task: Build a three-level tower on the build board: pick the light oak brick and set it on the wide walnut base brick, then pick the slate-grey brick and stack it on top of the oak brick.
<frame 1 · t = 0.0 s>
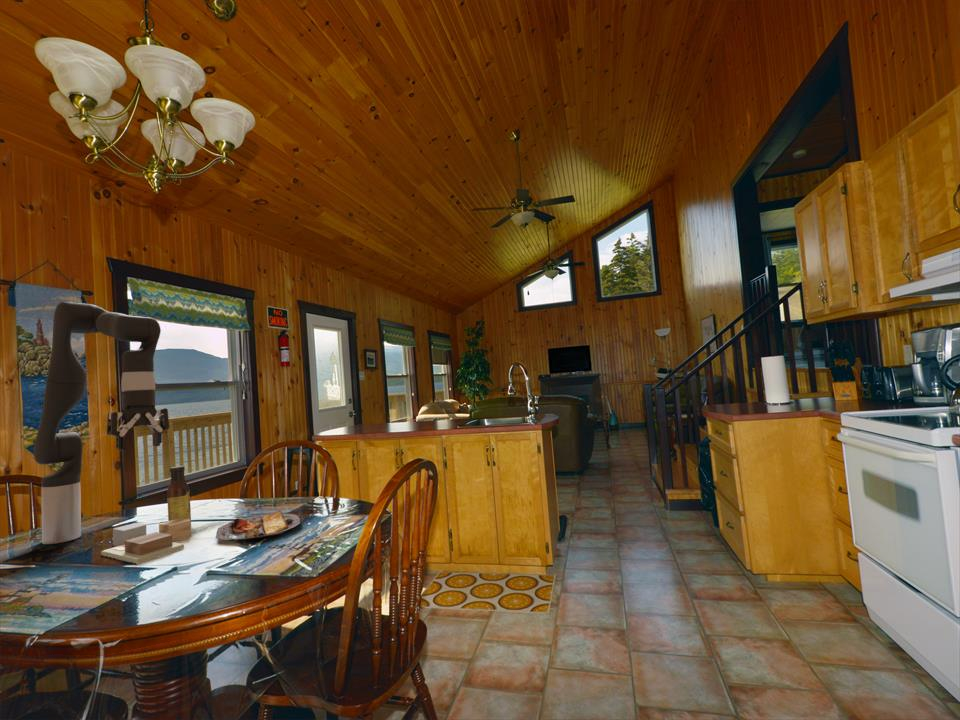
hand: (139, 448, 129), 29 cm above the table, fingers open, 8 cm apart
base brick: (148, 548, 131), point 1 cm above the table, touching build board
food plate: (259, 532, 147), on the table
build board: (143, 551, 132), on the table
oak brick: (175, 538, 144), on the table
grey brick: (129, 543, 141), on the table
sauce bottle: (179, 528, 155), on the table
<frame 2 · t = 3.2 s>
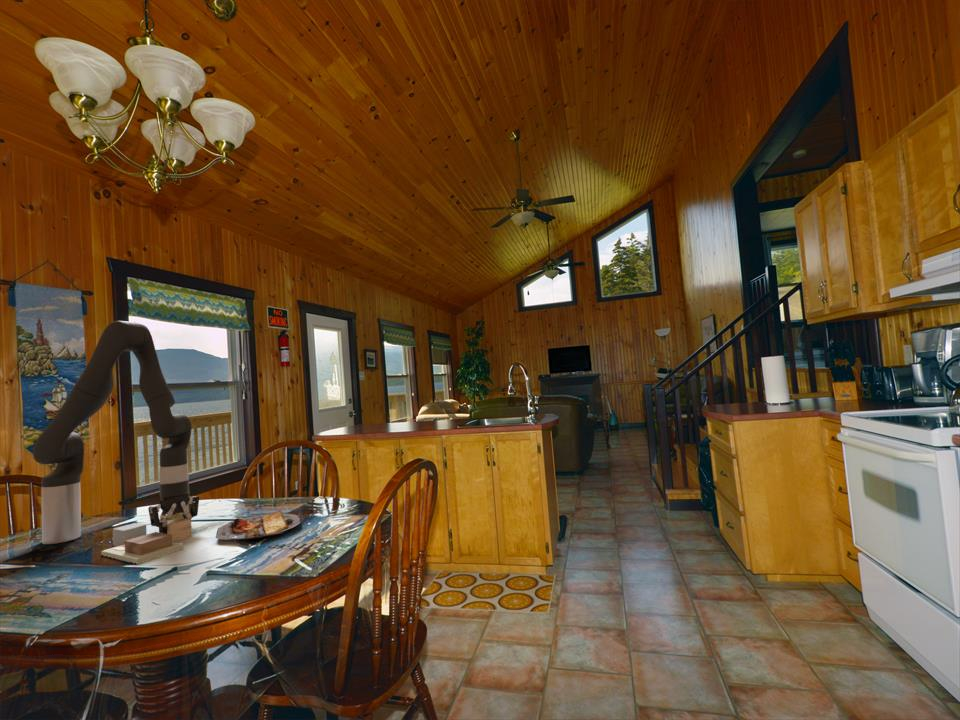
hand: (175, 535, 144), 1 cm above the table, fingers closed on oak brick, 6 cm apart
oak brick: (175, 538, 144), on the table, touching gripper
everything else where it was.
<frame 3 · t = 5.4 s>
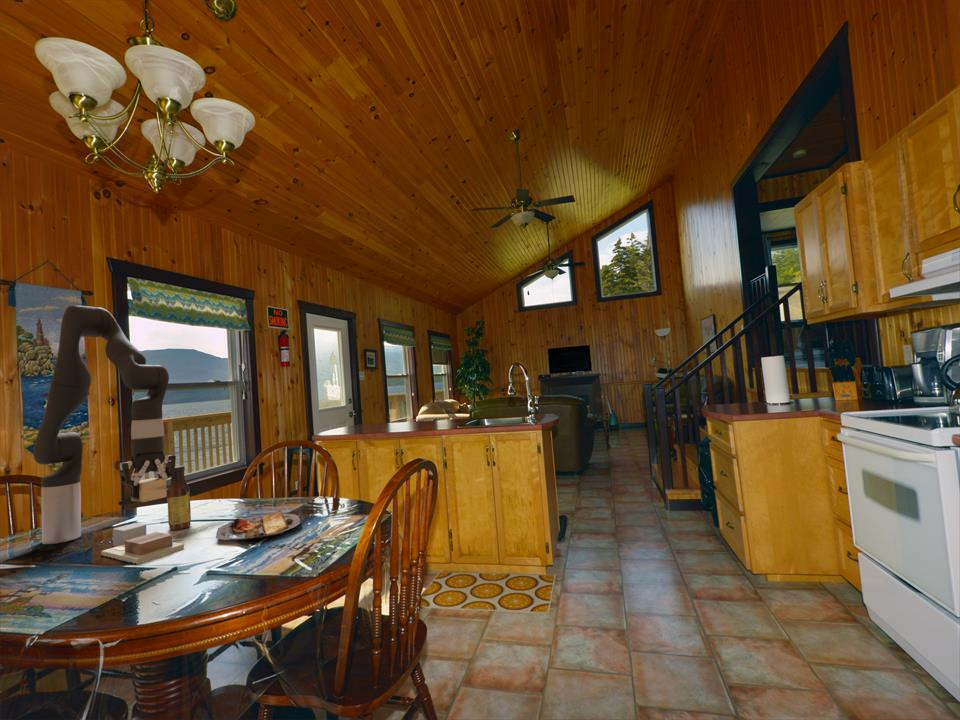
hand: (148, 495, 132), 16 cm above the table, fingers closed on oak brick, 6 cm apart
oak brick: (149, 498, 132), point 15 cm above the table, touching gripper
everything else where it was.
when the fingers open (6 cm above the table, at t = 7.6 s): oak brick drops 1 cm, resting on base brick.
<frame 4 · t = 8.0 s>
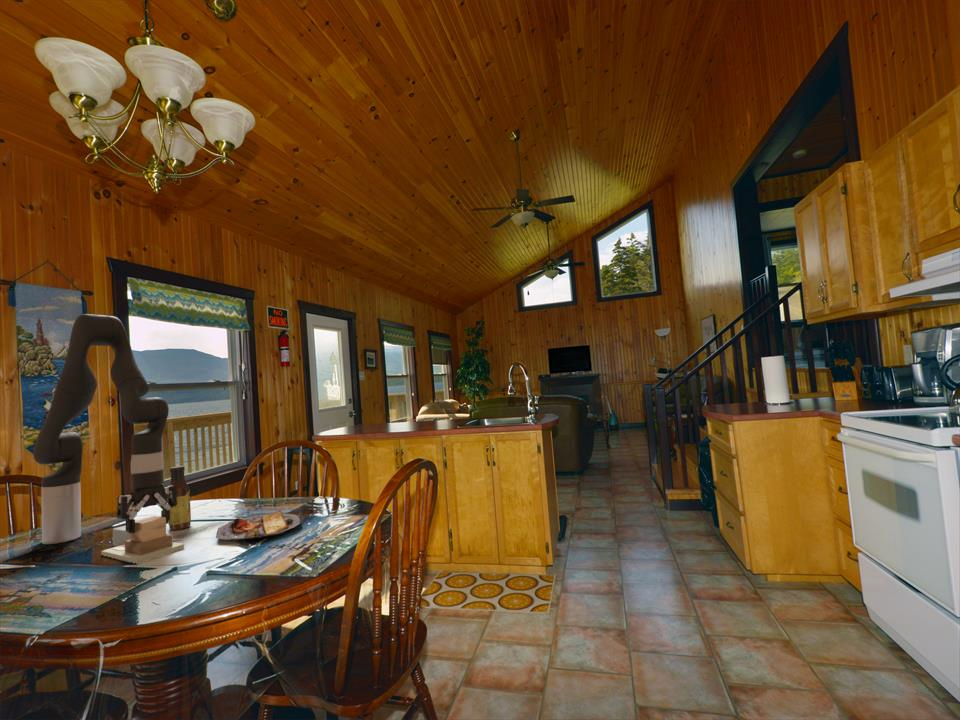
hand: (148, 528, 131), 7 cm above the table, fingers open, 8 cm apart
base brick: (148, 548, 131), point 1 cm above the table, touching build board, oak brick
oak brick: (148, 537, 131), point 4 cm above the table, touching base brick
everything else where it was.
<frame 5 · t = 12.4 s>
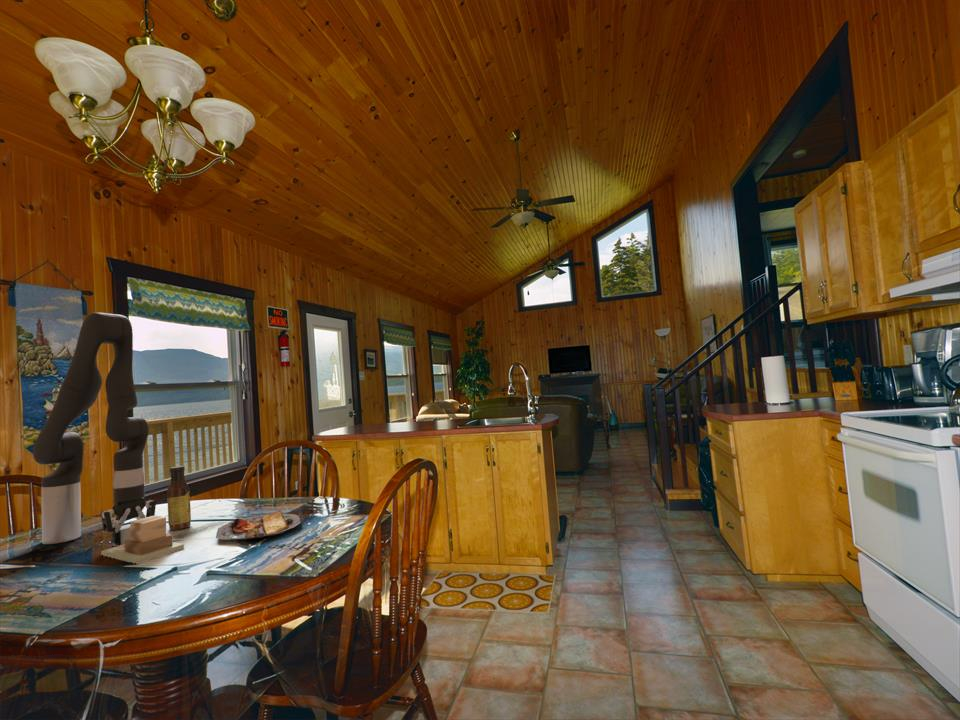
hand: (130, 540, 141), 1 cm above the table, fingers closed on grey brick, 6 cm apart
grey brick: (130, 543, 141), on the table, touching gripper
everything else where it was.
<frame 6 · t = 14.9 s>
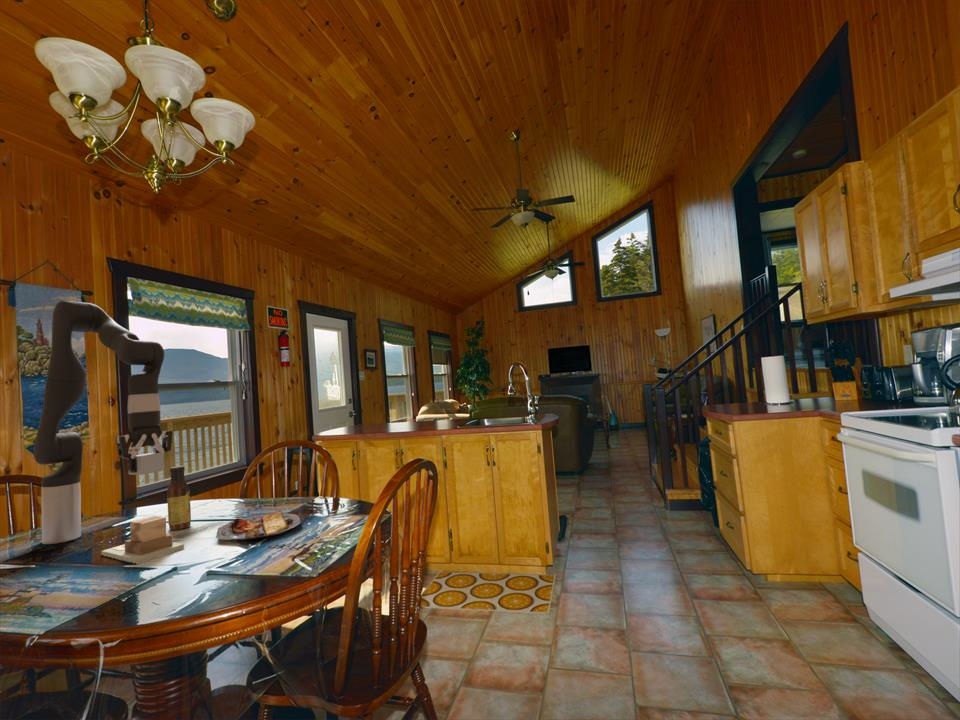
hand: (146, 469, 133), 23 cm above the table, fingers closed on grey brick, 6 cm apart
grey brick: (146, 472, 133), point 22 cm above the table, touching gripper
everything else where it was.
when the fingers open (11 cm above the table, at t = 17.6 s): grey brick drops 1 cm, resting on oak brick.
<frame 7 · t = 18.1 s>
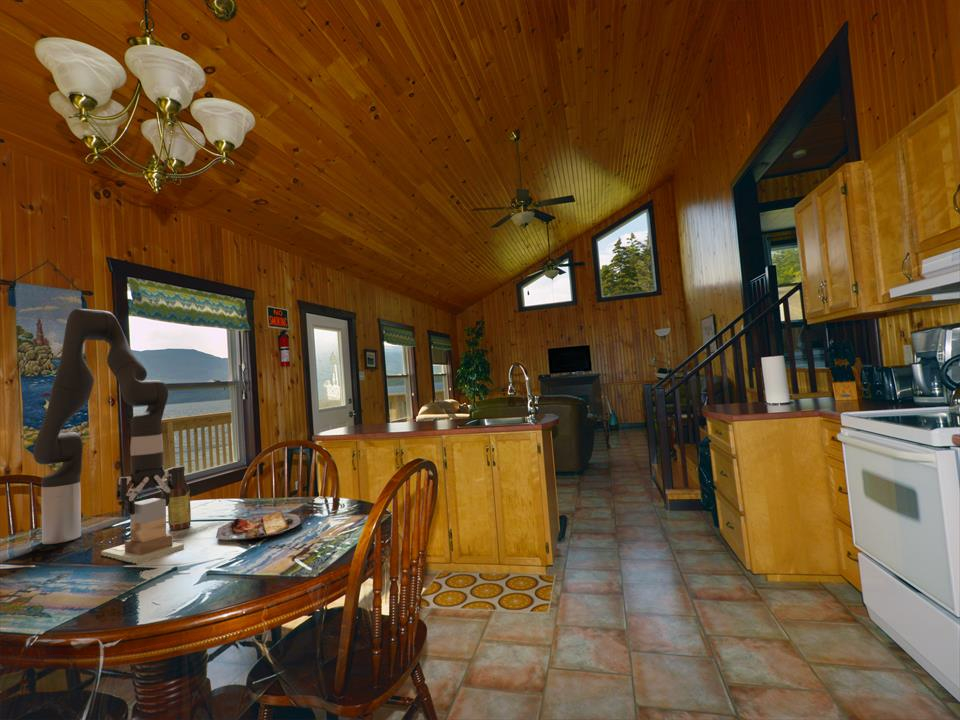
hand: (148, 510, 132), 12 cm above the table, fingers open, 8 cm apart
oak brick: (148, 537, 131), point 4 cm above the table, touching base brick, grey brick
grey brick: (148, 519, 131), point 9 cm above the table, touching oak brick
everything else where it was.
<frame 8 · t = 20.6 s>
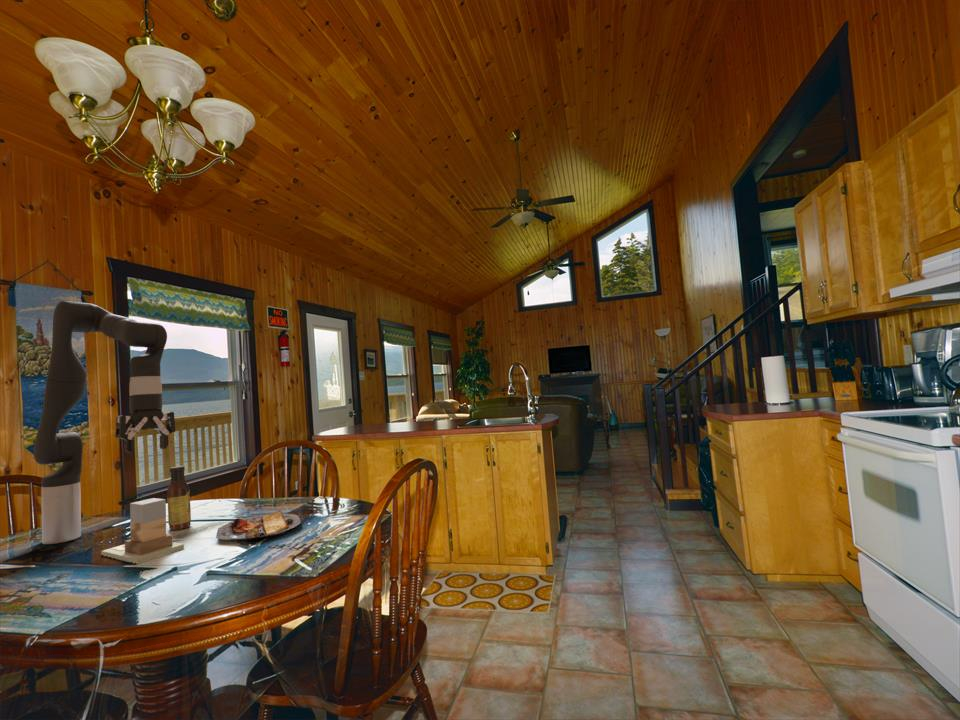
hand: (147, 451, 132), 28 cm above the table, fingers open, 8 cm apart
nothing on the table moved.
at the end: oak brick 0.1 cm off-centre on the base brick, point 3.0 cm above the base brick's base; grey brick 0.0 cm off-centre on the oak brick, point 5.0 cm above the oak brick's base; grey brick tilted 0° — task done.
